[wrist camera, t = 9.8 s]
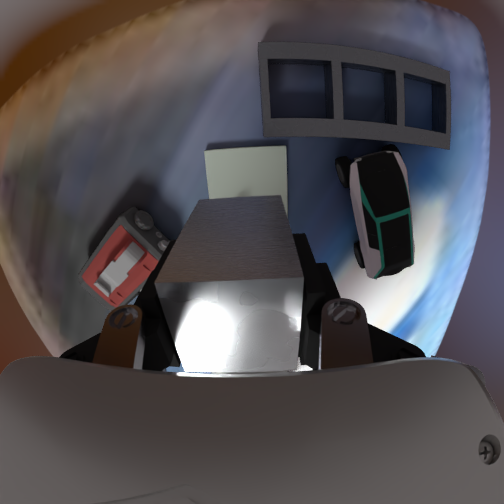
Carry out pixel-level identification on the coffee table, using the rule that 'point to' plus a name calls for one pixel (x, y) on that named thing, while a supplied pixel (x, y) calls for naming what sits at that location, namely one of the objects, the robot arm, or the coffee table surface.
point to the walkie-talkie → (123, 259)
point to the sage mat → (247, 172)
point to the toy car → (380, 210)
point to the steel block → (234, 287)
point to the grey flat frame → (334, 122)
